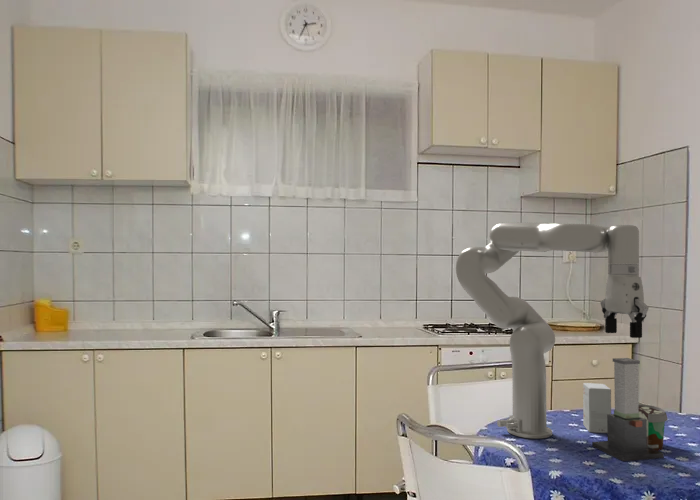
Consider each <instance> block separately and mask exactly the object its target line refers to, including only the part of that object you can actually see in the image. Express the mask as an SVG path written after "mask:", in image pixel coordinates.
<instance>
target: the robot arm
mask: <svg viewBox="0 0 700 500" xmlns="http://www.w3.org/2000/svg"><path fill="white" fill-rule="evenodd" d="M489 241H490V242H489V243H488V244H487V245H486V246H470V247H467V248H465V249H464V250H462V251H461V252H460V253H459V255H458V257H457V259H456V263H455V273H456V277H457V281H458V282H459V284H460V286H461V287H462V289H463V290H464V291H465V293H467V294H468V295H469V297H470V298H471V299H472V300H473V301H474V302H475V304H477V306H478V307H479V309H480V310H482V312H483V313H484V314H485V315H486V317H487V318H489V320H490V321H491V322H492V323H493V324H494V325H495V326H496V327H497V328H500V329H502V330H505V329H507V330H508V329H512V333H511V336H510V338H509V351H510V352H509V353H510V357H511V370H512V372H511V376H512V377H511V379H512V380H511V381H512V383H511V384H512V387H511V388H512V389H511V390H512V414H511V415H508V416H509V417H508V418H507V419H498V420H497V421H496V425H497V427H498V428H503V427H504V428H506V429H507V430H506V431H507V433H509V434H510V435H513V436H516V437H519V438H523V439H524V438H525V439H532V440H533V439H534V440H535V439H539V440H540V439H548V438H551V436H552V435H553V430H552V428H551V427H548V426H547V370H546V369H547V368H546V367H547V366H546V362H545V361H546V360H545V355H544V354H546V353H548V352H550V351H552V349H553V348H554V346H555V344H556V335H555V332H554V330H553V328H552V327H551V326H550V325H549V324H548V323H547V322H546V321H545V319H544V318H543V317H542V316H541V315H540V314H539V313H538V312H537V311H536V309H534V308H533V306H531V304H529V303H528V302H527V301H526V300H524V299H523V298H521V297H517V296H508V295H507V294H506V293H505V292H504V291H503V290H502V289H501V287H499V286H498V284H497V283H496V282H495V281H493V280H492V279H491V278H490V277H489V276H487V275H486V274H492V273H494V272H497V271H498V270H499V269H501V267H503V266H505V264H507V263H508V262H509V261H510V260H511V259H512V258H514V256H516V255H517V253H519V252H538V253H539V252H541V253H543V252H544V253H545V252H551V251H557V252H558V251H561V252H562V251H564V252H583V253H593V254H594V253H605V252H607V279H606V285H605V297H604V298H603V300H601V301H600V306H601V312H602V313H603V318H604V320H605V321H604V322H605V323H604V324H605V325H604V328H605V329H604V330H605V333H606V334H617V331H618V330H617V329H618V327H617V326H618V320H617V318H616V317H617V315H618V314H622V315H628V317H629V319H630V322H629V338H631V339H639V338H643V323H645V319H646V317H647V313H648V311H649V305H647V304H646V303H645V297H644V286H643V281H642V278H641V276H640V229H639V227H638V226H636V225H632V224H620V225H619V224H615V225H611V226H601V225H595V224H591V223H590V224H589V223H549V222H515V221H514V222H509V221H508V222H507V221H506V222H499V223H497V224H495V225H493V226H492V228H491V230H490V232H489Z"/></svg>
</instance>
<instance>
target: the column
mask: <svg viewBox="0 0 700 500" xmlns="http://www.w3.org/2000/svg"><path fill="white" fill-rule="evenodd" d="M612 362H613V363H614V370H613V371H614V373H613V374H614V375H613V376H614V410H613V414H614V415H615V416H616V417H619V418H621V419H624V420H632V419H639V413H638V404H639V364H641V363H640V360H637V359H634V358H628V357H619V358H616V357H615V358H612Z"/></svg>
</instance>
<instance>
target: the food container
mask: <svg viewBox="0 0 700 500" xmlns="http://www.w3.org/2000/svg"><path fill="white" fill-rule="evenodd" d="M638 413H639V417H641V418H644V419H646V421H647V446H648V447H650V448H653V449H655V450H657V451H662V450H663V449H664V438H665V424H666V422H667V421H668V420H669V419H668V413H666V410H665V409H663V408H661V407H659V406H655V405H649V404H644V403H643V404H642V403H638Z"/></svg>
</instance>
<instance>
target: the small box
mask: <svg viewBox="0 0 700 500" xmlns="http://www.w3.org/2000/svg"><path fill="white" fill-rule="evenodd" d="M582 384H583V385H582V388H583V389H582V391H583V392H582V394H583V395H582V399H583V402H582V403H583V405H582V406H583V411H582V412H583V413H582V415H583V417H582V419H583V421H582V424H583V426H584V427H585V429H586V430H587V431H588V432H589V433H597V434H599V433H600V434H608V433H607V414H612V389H611V388H610V387H609V386H607V385H606V384H605V383H596V382H594V383H593V382H592V383H590V382H583V383H582Z"/></svg>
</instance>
